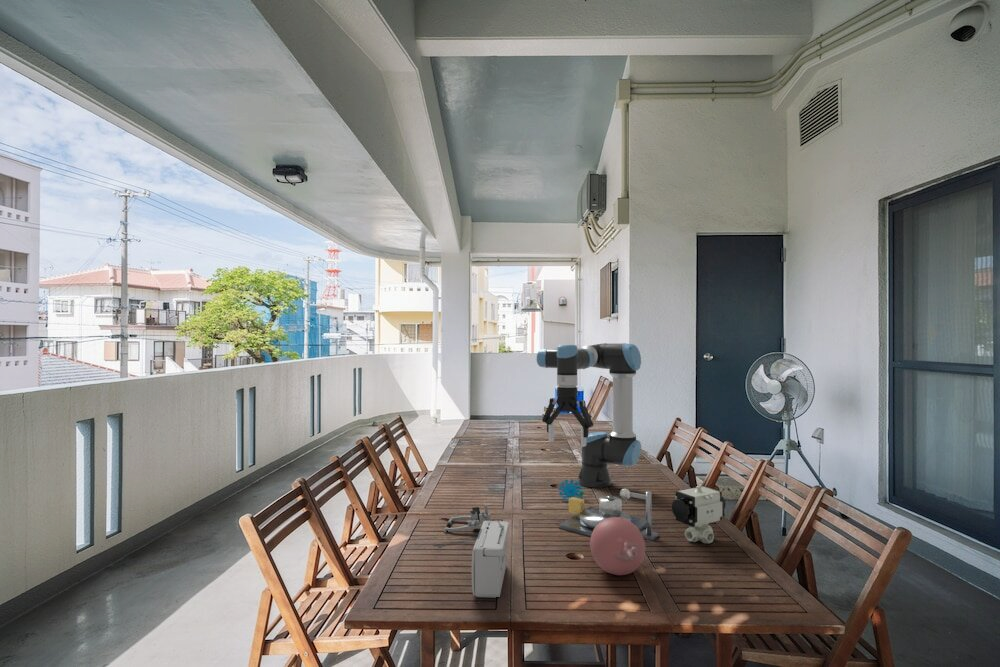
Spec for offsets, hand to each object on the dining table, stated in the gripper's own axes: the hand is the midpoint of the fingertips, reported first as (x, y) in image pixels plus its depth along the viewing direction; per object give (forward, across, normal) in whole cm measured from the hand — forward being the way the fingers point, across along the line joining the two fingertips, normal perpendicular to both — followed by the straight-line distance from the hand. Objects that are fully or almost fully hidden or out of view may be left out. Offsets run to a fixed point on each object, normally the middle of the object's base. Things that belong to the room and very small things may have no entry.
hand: (567, 444), depth 187 cm
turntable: (+27, +11, +3) cm, 29 cm away
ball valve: (+28, +45, +10) cm, 54 cm away
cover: (+25, +14, +8) cm, 29 cm away
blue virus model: (+28, -10, +22) cm, 37 cm away
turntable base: (+28, +14, +3) cm, 31 cm away
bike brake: (+28, -26, -29) cm, 48 cm away
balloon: (+28, +34, -30) cm, 53 cm away
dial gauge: (+28, +26, +3) cm, 38 cm away
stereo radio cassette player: (+28, +7, -54) cm, 61 cm away
